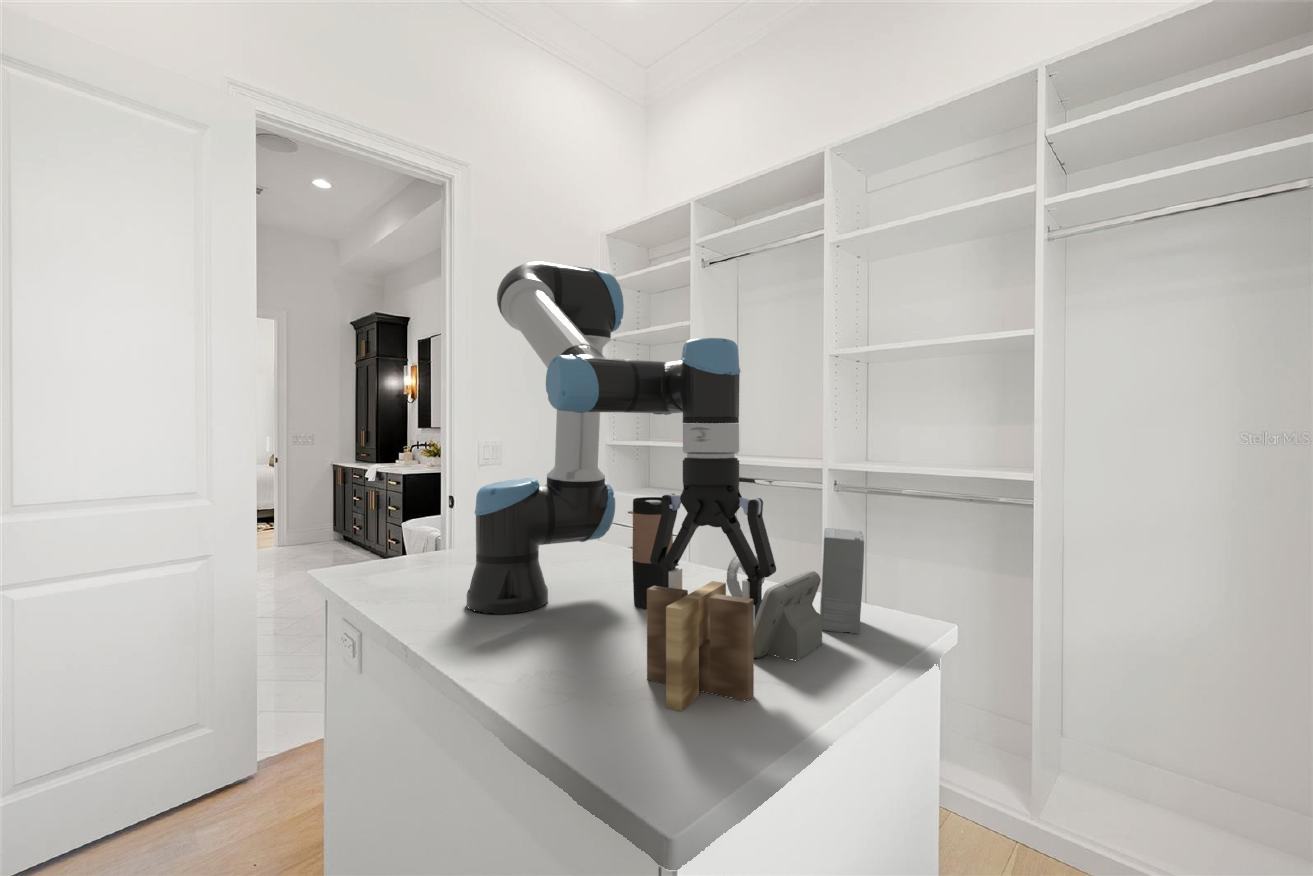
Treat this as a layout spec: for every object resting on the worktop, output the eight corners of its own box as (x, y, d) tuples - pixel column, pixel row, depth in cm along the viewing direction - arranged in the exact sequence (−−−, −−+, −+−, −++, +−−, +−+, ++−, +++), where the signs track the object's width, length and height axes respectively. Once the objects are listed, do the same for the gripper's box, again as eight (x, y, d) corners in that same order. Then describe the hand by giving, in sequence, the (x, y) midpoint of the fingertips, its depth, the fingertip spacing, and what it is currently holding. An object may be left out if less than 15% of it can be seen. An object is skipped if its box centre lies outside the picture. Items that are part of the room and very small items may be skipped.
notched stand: (647, 679, 81) (646, 589, 80) (654, 674, 82) (654, 585, 82) (748, 701, 74) (748, 603, 74) (753, 695, 76) (753, 599, 76)
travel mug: (648, 597, 121) (648, 496, 121) (680, 603, 116) (680, 498, 116) (624, 606, 114) (624, 499, 114) (657, 613, 110) (657, 502, 110)
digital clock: (794, 629, 101) (795, 565, 101) (842, 643, 94) (843, 575, 94) (728, 652, 91) (728, 581, 91) (776, 670, 84) (777, 593, 84)
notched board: (681, 711, 71) (681, 609, 71) (666, 707, 72) (666, 606, 72) (726, 670, 84) (725, 582, 84) (712, 667, 85) (712, 581, 85)
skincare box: (819, 616, 108) (819, 527, 108) (862, 620, 106) (862, 529, 106) (819, 631, 100) (819, 535, 100) (865, 635, 98) (865, 537, 98)
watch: (771, 615, 109) (771, 553, 108) (743, 625, 103) (743, 560, 103) (746, 609, 113) (746, 549, 112) (718, 618, 107) (718, 555, 107)
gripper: (623, 455, 83) (624, 618, 84) (785, 458, 73) (785, 645, 73) (650, 453, 90) (650, 604, 90) (802, 456, 79) (801, 627, 80)
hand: (710, 622), depth 82 cm, fingers open, 10 cm apart
